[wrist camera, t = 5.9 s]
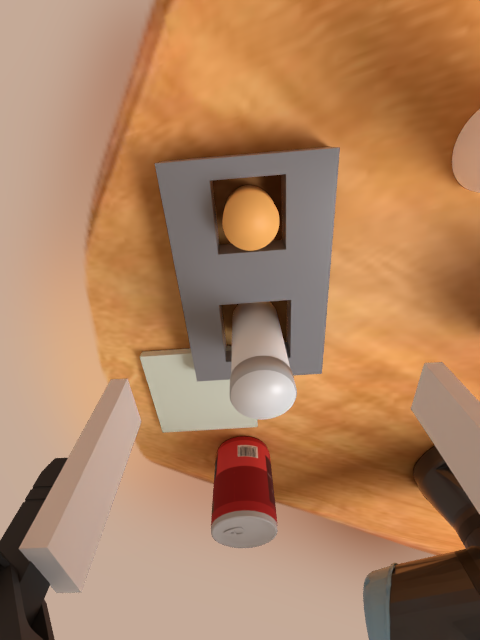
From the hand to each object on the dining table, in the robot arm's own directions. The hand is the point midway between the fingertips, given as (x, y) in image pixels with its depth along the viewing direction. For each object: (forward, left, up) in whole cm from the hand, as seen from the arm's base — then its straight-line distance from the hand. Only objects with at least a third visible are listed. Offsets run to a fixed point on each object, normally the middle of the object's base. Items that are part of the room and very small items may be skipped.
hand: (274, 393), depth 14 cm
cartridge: (-7, 0, -19) cm, 20 cm away
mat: (-17, +7, -19) cm, 26 cm away
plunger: (+4, 0, -18) cm, 18 cm away
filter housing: (-2, 0, -19) cm, 19 cm away
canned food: (-30, +3, -19) cm, 36 cm away
